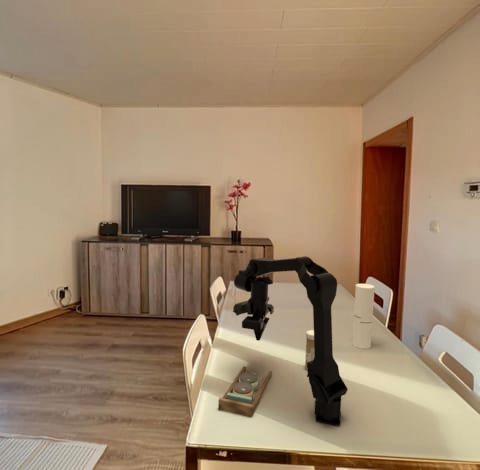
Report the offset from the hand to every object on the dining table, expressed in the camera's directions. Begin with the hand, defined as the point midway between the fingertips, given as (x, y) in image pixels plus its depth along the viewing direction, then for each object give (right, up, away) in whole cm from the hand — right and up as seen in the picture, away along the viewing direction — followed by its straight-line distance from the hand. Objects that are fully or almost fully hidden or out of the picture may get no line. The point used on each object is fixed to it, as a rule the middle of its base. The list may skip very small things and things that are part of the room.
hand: (258, 340), depth 119 cm
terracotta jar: (-5, -14, -14) cm, 20 cm away
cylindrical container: (+44, -10, +26) cm, 52 cm away
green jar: (-3, -13, -8) cm, 16 cm away
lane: (-4, -13, -9) cm, 17 cm away
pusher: (-6, -14, -17) cm, 23 cm away
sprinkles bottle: (+19, -12, +6) cm, 23 cm away
